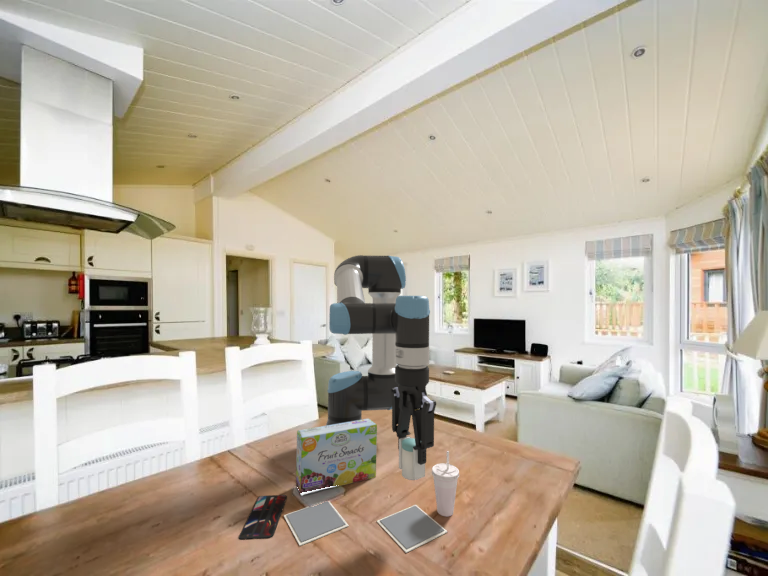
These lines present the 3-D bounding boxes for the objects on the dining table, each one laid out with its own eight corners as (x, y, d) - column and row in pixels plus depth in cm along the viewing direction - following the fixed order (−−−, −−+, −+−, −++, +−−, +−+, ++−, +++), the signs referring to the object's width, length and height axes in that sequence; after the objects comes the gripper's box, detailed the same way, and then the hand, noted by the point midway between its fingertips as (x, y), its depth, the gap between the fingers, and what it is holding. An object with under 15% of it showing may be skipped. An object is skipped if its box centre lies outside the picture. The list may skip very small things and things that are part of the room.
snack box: (300, 498, 85) (301, 437, 85) (295, 487, 90) (296, 429, 90) (377, 477, 95) (377, 423, 95) (368, 468, 100) (368, 416, 100)
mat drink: (376, 521, 76) (376, 519, 76) (415, 505, 82) (415, 503, 82) (406, 553, 67) (406, 551, 67) (447, 532, 73) (447, 530, 73)
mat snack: (283, 516, 78) (283, 514, 78) (328, 500, 84) (328, 499, 84) (299, 546, 69) (299, 544, 69) (348, 526, 75) (348, 524, 75)
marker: (397, 473, 75) (397, 441, 75) (413, 467, 78) (413, 436, 78) (410, 482, 72) (410, 449, 72) (426, 476, 74) (426, 443, 74)
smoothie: (459, 522, 76) (459, 458, 76) (430, 518, 77) (430, 456, 78) (459, 504, 82) (459, 446, 83) (432, 501, 84) (432, 444, 84)
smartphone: (237, 538, 70) (258, 495, 85) (237, 542, 70) (258, 498, 85) (273, 537, 71) (287, 494, 86) (273, 540, 71) (287, 497, 86)
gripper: (376, 360, 81) (376, 460, 80) (424, 375, 66) (423, 497, 65) (402, 357, 85) (402, 452, 84) (452, 370, 70) (452, 485, 69)
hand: (411, 471), depth 75 cm, fingers closed on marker, 4 cm apart
